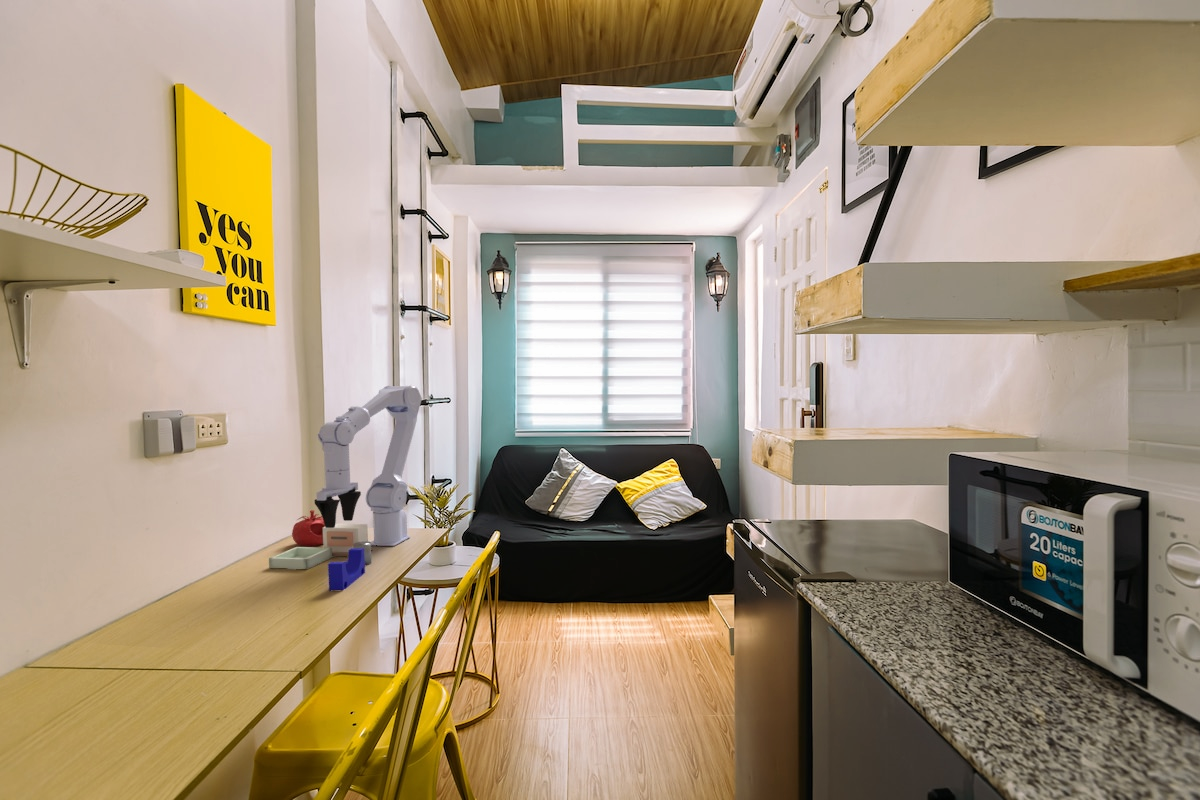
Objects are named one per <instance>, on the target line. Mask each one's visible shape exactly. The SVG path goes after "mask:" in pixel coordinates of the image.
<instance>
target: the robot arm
mask: <svg viewBox="0 0 1200 800" xmlns="http://www.w3.org/2000/svg"><path fill="white" fill-rule="evenodd" d="M422 399H423V398H422V396H421V393H420V390H419V389H418V387H417V386H415V385H412V384H410V385H399V386H398V385H394V386H392V385H386V386H384V387H383V388H381V389H379V390H378V393H377V394H376V395H375V396H373V397H372V398H371V399H370V400H369V401H367V403H365V404H364V405H362V406H358V405H357V406H350V407H349V408H348V411H346V412H345V413H344V414H342V415H339V416H337V417H336V418H335V420H334V421H328V422H325V423H323V425H322V426H321V427H320V429H319V432H318V434H317V438H318V440H319V442H320V444H321V448H322V450H323V453H324V456H323V457H324V476H325V477H324V479H325V480H324V481H325V483H324V484H325V486H323V487H321V490H320V491H318V492H317V491H316V499H314V505H315V506H316V507H317V509H318V511H319V512H320V514H321V516H322V517H321V518H323V521H324V524H325V527H326V528H334V527H335V524H337V522H336V521H337V519H336V518H337V509H338V506H339V503H340V506H341V514H342V519H343V521H346V522H347V521H348V522H349V521H353V519H354V514H355V509H356V506H357V503H358V501H359V498H360V497H361V495H362V494H361V493H362V492H361V491H360V490H359V484H358V482H351V469H350V467H351V466H350V464H351V463H350V444H352V442H353V440H354V438H355V435H356V434H357V433H359V432H360V431H361V430H363V429H364V428H365V427H367V426H368V425H369V424H370V422H371V418H372V417H373V416H375V415H377V414H378V413H380V412H381V411H383V410H386V411H387V412H388V413H389V415H390V416H391V417H392V418H394V420H395V424H394V428H393V432H392V435H391V438H390V442H389V446H388V450H387V453H386V457H385V460H384V464H383V468H382V471H381V474H379V475H378V476H377V477H375V478H374V479H373V480H372V482H371V485H370V487H369V488H368V489H367V491H366V494H365V503H366V505H367V506H368V507H369V508H370V512H372V515H373V516H372V522H373V523H372V524H373V540H372V541H370V542H371V546H376V545H377V546H384V547H386V546H387V547H395V546H397V545H398V544H401V543H402V542H404V541H406V540H407V539H409V538H411V535H409V534H408V520H407V519H408V517H407V513H406V511H405V510H404V507H405V505H406V502H407V497H408V495H407V490H408V483H406V482H405V480H404V479H403V474H404V469H405V465H406V461H407V458H408V455H409V451H410V446H411V444H412V440H413V436H414V433H415V428H416V424H417V421H418V420H417V419H418V414H419V411H420V407H421V403H422ZM334 497H338V499H334Z"/></svg>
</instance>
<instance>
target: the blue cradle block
mask: <svg viewBox="0 0 1200 800" xmlns="http://www.w3.org/2000/svg"><path fill="white" fill-rule="evenodd" d="M327 569H328V571H327V572H328V573H327V575H328V591H329V590H330V591H329V592H332V591H331V590H344V589H345V590H346V589H347V588H349V586H351V585H352V584H353V583H355V582H356V581H357V580H358V579H360V578H361V577H362V576H363V575H365V574H366V566H365V557H364V548H351V549H350V550H349V555H348V557H347V560H346V561H331V562H329V563H328V564H327ZM345 590H344V591H345Z"/></svg>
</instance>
